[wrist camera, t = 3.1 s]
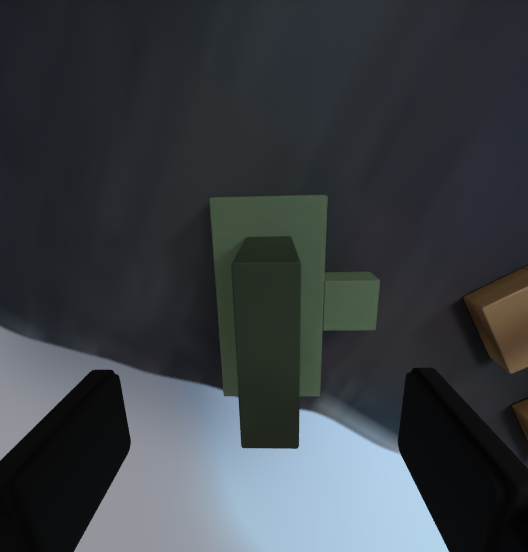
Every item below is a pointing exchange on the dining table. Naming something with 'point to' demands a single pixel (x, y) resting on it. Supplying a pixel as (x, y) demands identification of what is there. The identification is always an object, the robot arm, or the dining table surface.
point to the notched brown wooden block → (504, 326)
